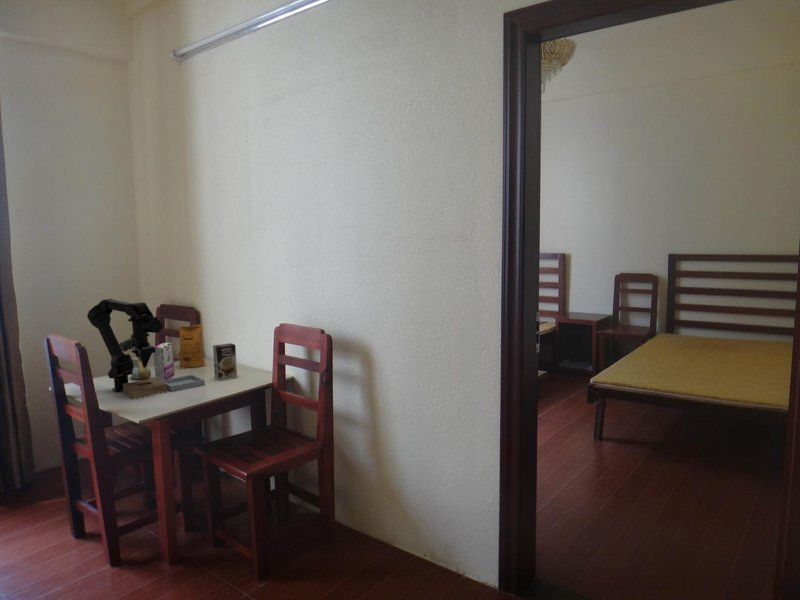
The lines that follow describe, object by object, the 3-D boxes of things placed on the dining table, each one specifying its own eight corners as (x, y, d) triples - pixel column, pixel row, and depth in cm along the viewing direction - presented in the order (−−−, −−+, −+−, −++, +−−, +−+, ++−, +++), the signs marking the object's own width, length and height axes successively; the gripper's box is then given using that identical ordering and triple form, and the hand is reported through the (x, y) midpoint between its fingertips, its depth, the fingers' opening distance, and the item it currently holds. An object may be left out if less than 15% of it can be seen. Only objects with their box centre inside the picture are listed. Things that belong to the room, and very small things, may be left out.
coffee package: (181, 364, 294) (178, 324, 291) (205, 363, 296) (203, 322, 293) (178, 369, 284) (174, 327, 281) (203, 367, 287) (200, 325, 284)
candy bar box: (164, 375, 272) (162, 342, 270) (174, 375, 272) (172, 342, 270) (154, 381, 261) (152, 347, 259) (165, 381, 261) (162, 347, 259)
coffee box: (218, 381, 259) (216, 347, 257) (214, 378, 264) (212, 345, 262) (237, 377, 264) (235, 344, 262) (233, 375, 269) (231, 342, 267)
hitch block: (123, 392, 243) (122, 383, 242) (156, 386, 252) (155, 377, 252) (133, 399, 233) (132, 390, 232) (167, 392, 242) (166, 383, 241)
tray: (160, 386, 252) (160, 380, 252) (192, 379, 262) (192, 374, 262) (171, 392, 242) (170, 386, 242) (204, 385, 252) (204, 379, 252)
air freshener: (151, 379, 266) (149, 358, 265) (132, 381, 262) (130, 361, 261) (149, 374, 275) (147, 354, 274) (131, 376, 271) (129, 356, 270)
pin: (137, 379, 242) (135, 356, 241) (147, 377, 244) (145, 355, 243) (140, 380, 239) (138, 358, 238) (150, 379, 241) (148, 356, 240)
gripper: (113, 331, 241) (117, 366, 243) (126, 337, 227) (129, 374, 229) (140, 328, 248) (143, 362, 250) (154, 333, 234) (157, 369, 236)
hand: (143, 366), depth 241 cm, fingers closed on pin, 4 cm apart
